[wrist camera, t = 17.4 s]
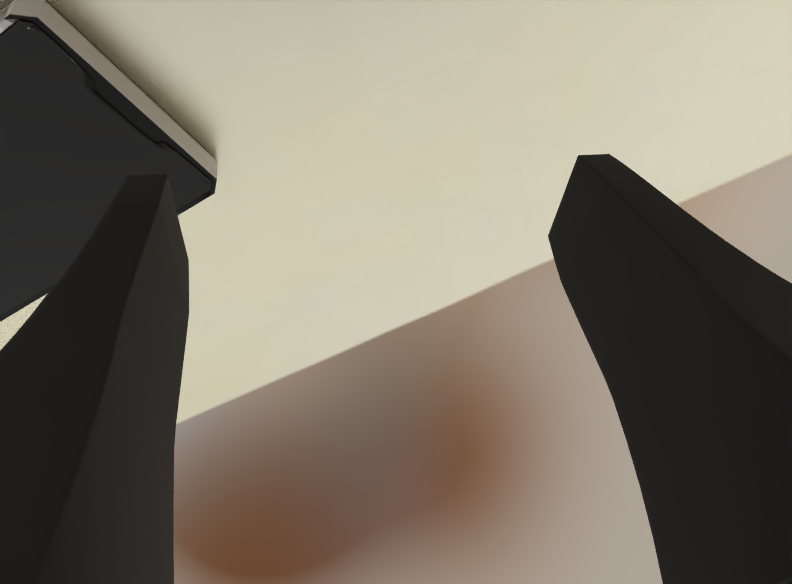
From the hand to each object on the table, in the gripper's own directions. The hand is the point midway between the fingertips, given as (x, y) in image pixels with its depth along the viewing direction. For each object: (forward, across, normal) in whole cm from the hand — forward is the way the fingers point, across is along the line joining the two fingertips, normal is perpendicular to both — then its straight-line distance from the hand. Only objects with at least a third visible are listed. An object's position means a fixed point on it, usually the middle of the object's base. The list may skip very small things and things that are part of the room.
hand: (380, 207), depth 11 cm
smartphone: (+11, +12, +8) cm, 18 cm away
